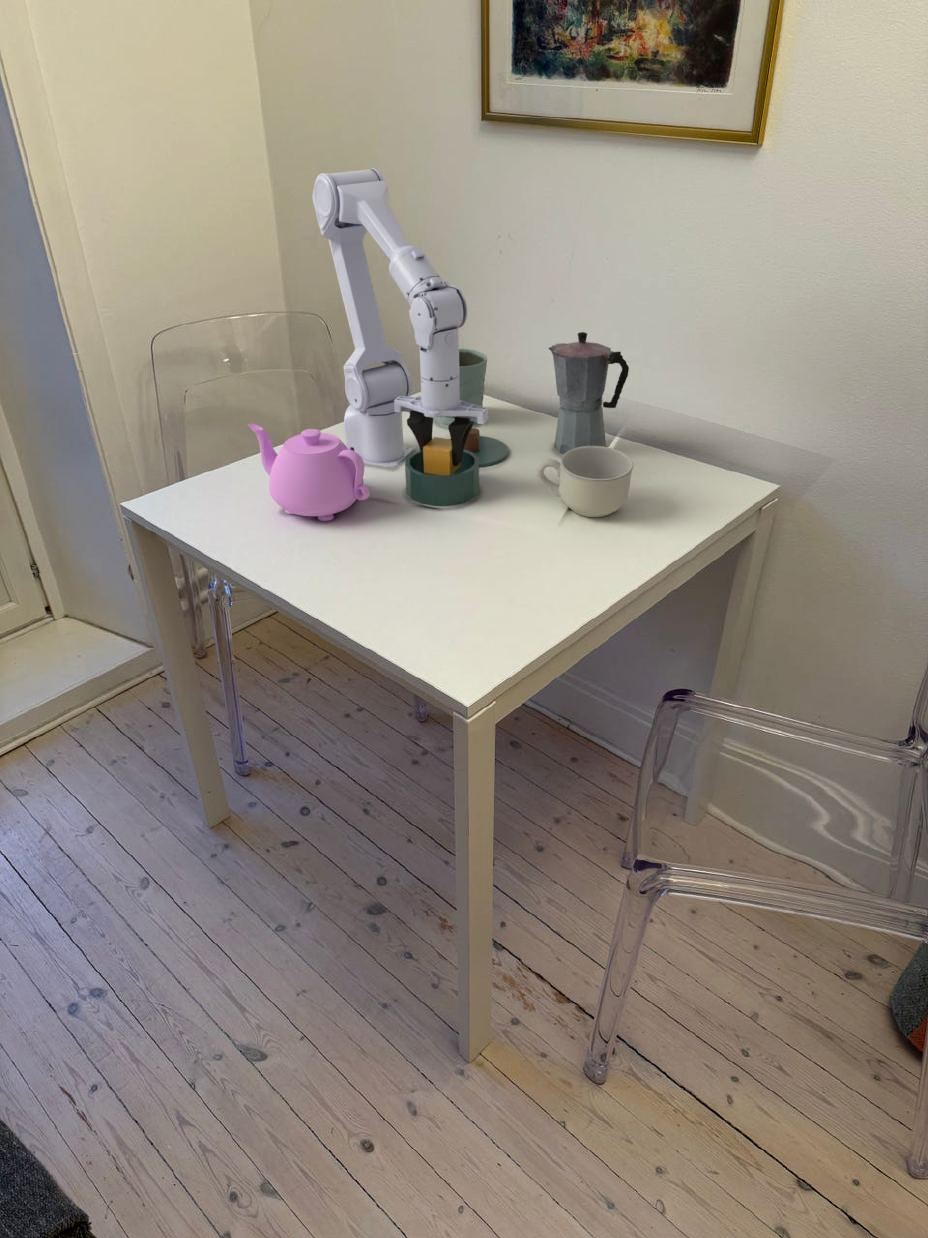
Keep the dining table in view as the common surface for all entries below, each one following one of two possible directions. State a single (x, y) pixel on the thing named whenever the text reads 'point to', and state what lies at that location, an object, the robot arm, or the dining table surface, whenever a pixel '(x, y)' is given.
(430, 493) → the pot
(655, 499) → the dining table surface
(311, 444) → the teapot
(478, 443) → the lid
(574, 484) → the teacup
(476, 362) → the green embossed cup
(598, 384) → the moka pot
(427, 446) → the block
